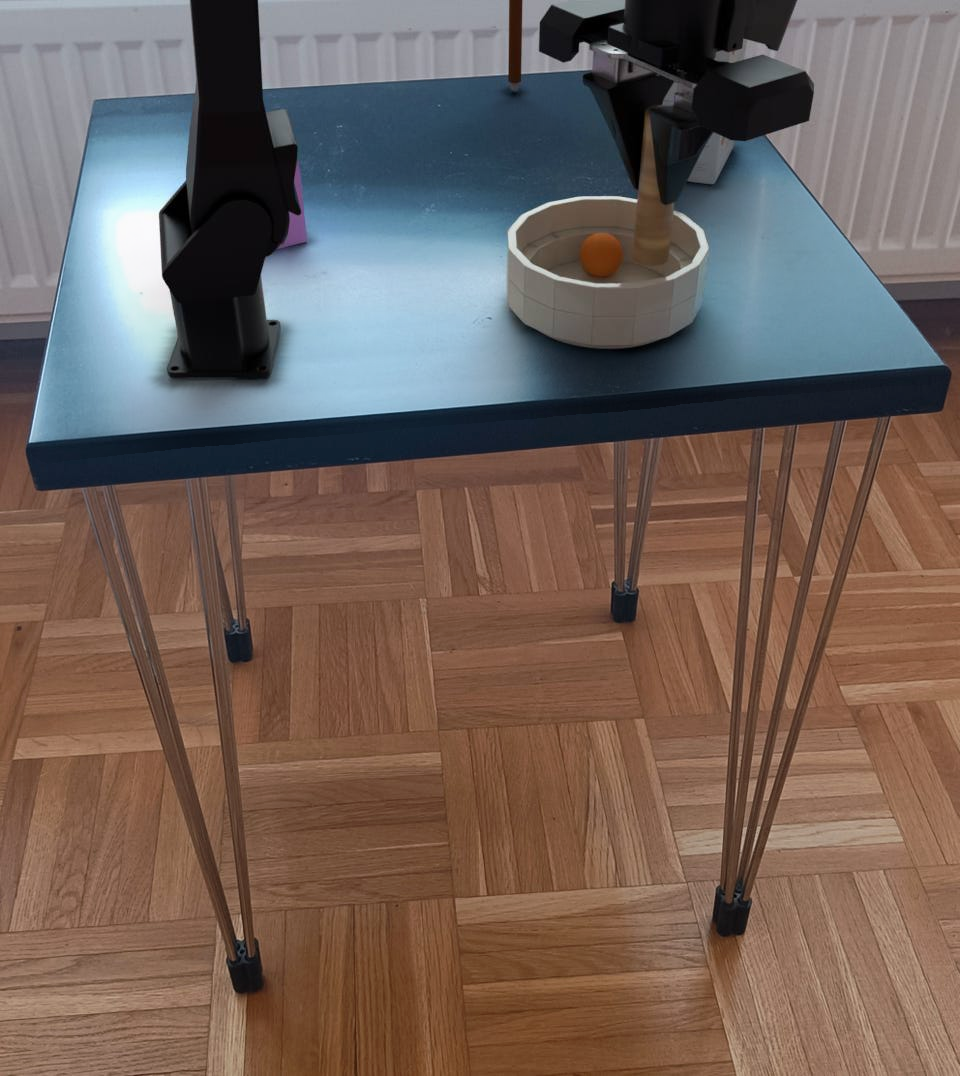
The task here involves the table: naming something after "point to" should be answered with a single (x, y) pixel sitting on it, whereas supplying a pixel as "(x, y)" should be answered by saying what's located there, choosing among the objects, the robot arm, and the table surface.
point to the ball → (601, 254)
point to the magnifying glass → (515, 43)
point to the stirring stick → (651, 209)
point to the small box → (717, 144)
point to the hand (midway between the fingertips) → (655, 195)
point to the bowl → (601, 302)
